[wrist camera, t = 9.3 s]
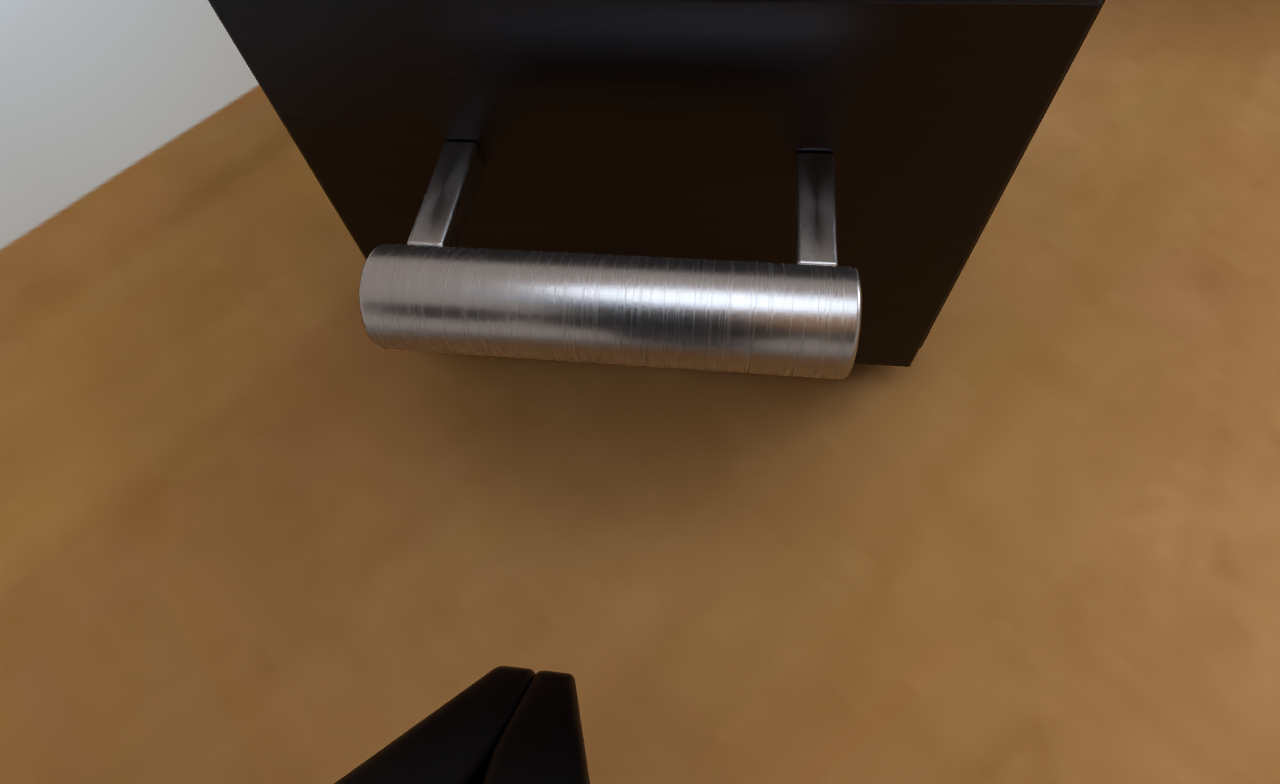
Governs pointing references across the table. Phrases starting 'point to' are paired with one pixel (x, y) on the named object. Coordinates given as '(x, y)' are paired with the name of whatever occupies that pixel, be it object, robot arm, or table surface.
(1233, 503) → the table surface
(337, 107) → the drawer
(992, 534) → the table surface
